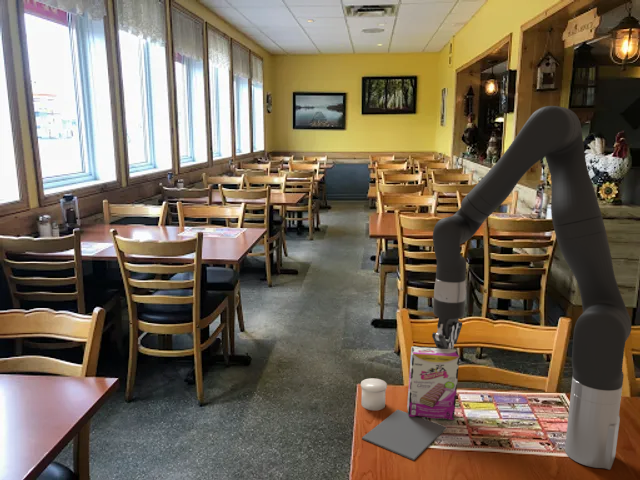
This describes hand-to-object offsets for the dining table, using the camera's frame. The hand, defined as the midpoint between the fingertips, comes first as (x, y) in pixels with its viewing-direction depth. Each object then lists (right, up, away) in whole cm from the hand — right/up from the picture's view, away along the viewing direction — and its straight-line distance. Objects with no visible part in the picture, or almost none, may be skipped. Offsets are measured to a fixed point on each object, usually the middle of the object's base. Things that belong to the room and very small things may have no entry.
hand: (445, 362), depth 131 cm
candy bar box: (-5, -12, -4) cm, 14 cm away
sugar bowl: (-18, -11, +2) cm, 21 cm away
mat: (-12, -14, -12) cm, 22 cm away
